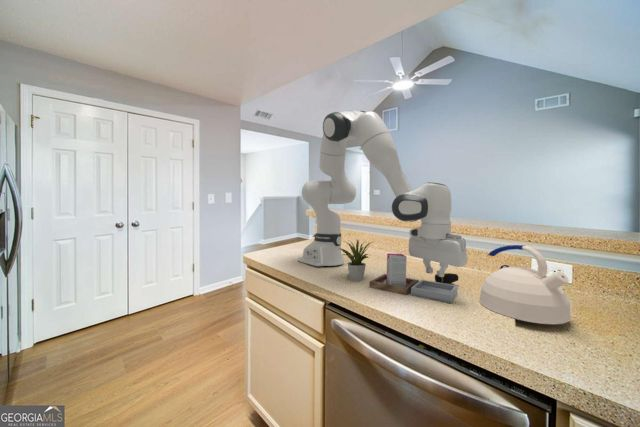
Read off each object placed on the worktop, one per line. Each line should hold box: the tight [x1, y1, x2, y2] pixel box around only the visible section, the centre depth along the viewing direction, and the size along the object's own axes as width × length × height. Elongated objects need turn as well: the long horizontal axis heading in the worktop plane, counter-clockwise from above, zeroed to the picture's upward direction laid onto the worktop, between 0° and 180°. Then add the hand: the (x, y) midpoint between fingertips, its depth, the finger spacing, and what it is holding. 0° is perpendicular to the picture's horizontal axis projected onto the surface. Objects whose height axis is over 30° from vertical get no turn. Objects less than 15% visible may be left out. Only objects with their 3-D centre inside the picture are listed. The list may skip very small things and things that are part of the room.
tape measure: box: [434, 272, 459, 284], centre depth 94 cm, size 7×7×4 cm
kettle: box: [478, 244, 572, 325], centre depth 72 cm, size 20×21×18 cm
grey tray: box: [410, 279, 459, 304], centre depth 83 cm, size 12×12×2 cm
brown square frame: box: [368, 273, 420, 296], centre depth 91 cm, size 13×13×2 cm
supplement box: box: [385, 253, 407, 287], centre depth 91 cm, size 6×6×12 cm
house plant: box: [339, 239, 373, 282], centre depth 100 cm, size 14×14×16 cm
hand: (434, 274), depth 83 cm, fingers open, 3 cm apart
